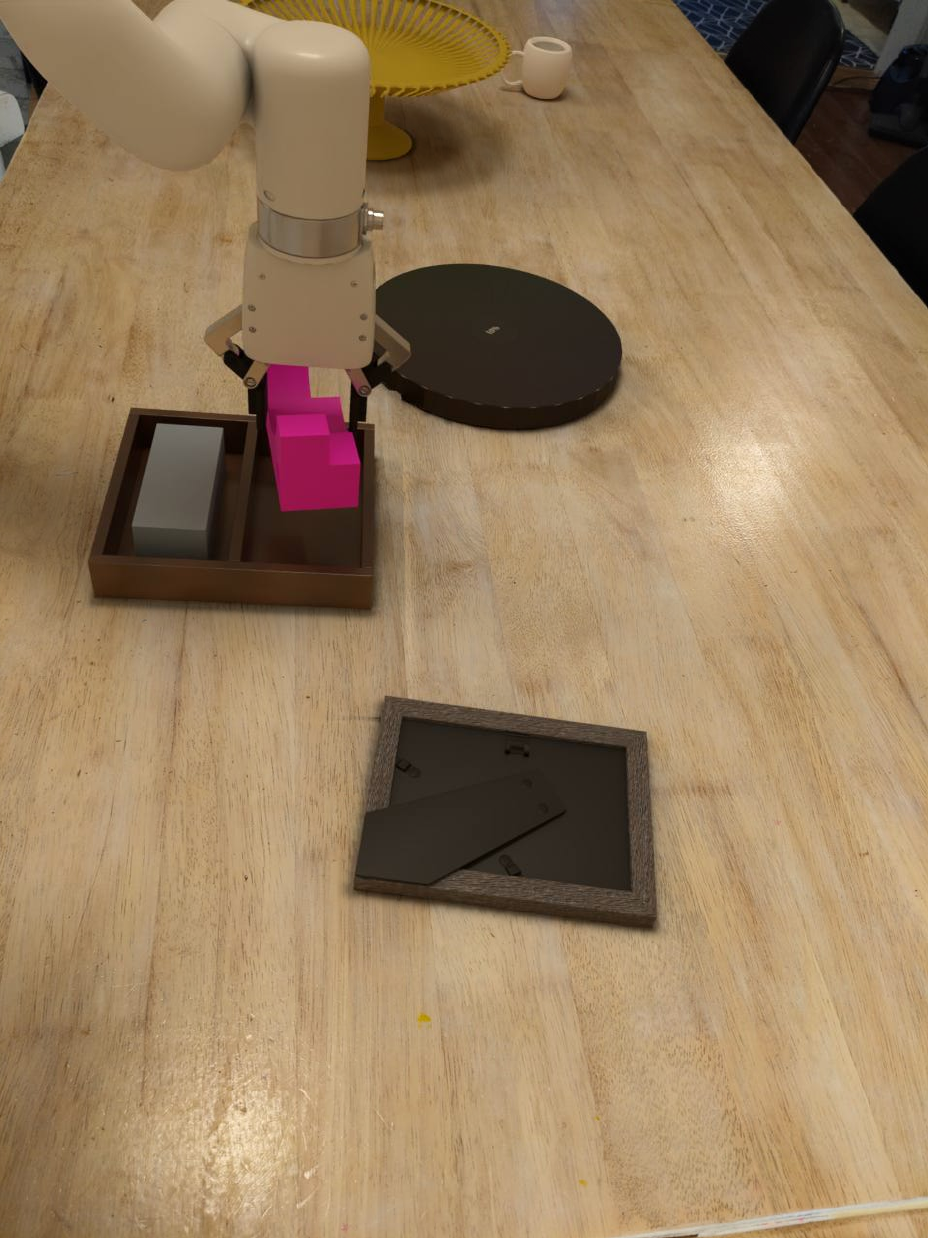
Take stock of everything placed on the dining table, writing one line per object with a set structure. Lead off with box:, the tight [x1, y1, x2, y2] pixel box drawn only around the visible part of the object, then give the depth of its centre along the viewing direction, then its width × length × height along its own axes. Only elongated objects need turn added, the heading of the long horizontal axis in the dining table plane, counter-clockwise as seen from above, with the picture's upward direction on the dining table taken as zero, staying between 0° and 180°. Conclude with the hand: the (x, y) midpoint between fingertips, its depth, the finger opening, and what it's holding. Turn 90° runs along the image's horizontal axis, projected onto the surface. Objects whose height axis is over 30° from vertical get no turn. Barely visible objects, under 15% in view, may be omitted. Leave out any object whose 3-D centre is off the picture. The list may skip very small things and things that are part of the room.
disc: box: [370, 262, 624, 430], centre depth 118 cm, size 30×30×3 cm
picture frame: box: [353, 695, 658, 928], centre depth 76 cm, size 16×2×21 cm
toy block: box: [266, 364, 360, 511], centre depth 86 cm, size 15×6×8 cm, turn 13°
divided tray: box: [87, 407, 376, 611], centre depth 93 cm, size 23×21×5 cm
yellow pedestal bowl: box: [235, 0, 513, 161], centre depth 149 cm, size 40×40×15 cm
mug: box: [499, 36, 573, 100], centre depth 173 cm, size 12×8×8 cm
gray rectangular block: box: [132, 423, 226, 560], centre depth 91 cm, size 6×14×5 cm, turn 3°
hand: (307, 421), depth 86 cm, fingers closed on toy block, 7 cm apart
